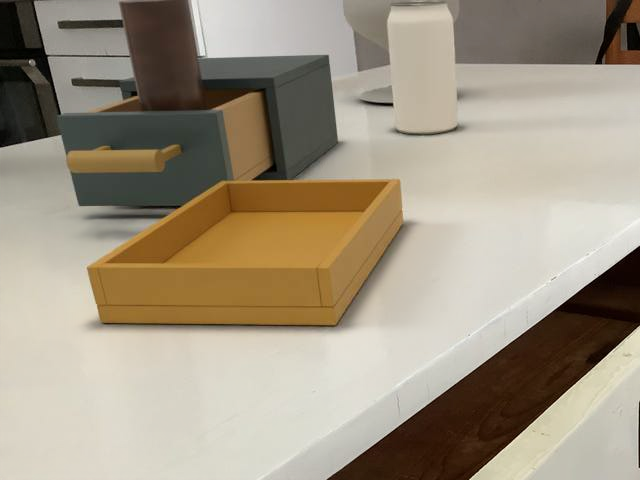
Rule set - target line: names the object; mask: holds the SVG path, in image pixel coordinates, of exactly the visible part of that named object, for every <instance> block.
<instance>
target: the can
mask: <svg viewBox="0 0 640 480" xmlns="http://www.w3.org/2000/svg"><path fill="white" fill-rule="evenodd" d="M447 3H448V1H411V2H398V3H391V4H390V6H391V11H390V14H389V17H388V20H387V28H388V42H389V52H388V55H389V66H390V78H391V80H390V81H391V85H392V93H393V103H392V105H393V114H394V124H395V128H396V129H397V131H398V132H400V133H402V134H407V135H433V134H434V135H436V134H442V133H448V132H450V131H453V130H455V129H456V127H457V126H458V124H459V115H458V114H459V111H458V108H459V107H458V89H457V68H456V50H455V49H456V47H455V31H454V30H455V29H454V24H453V18H452V15H451V13H450V11H449V9H448V7H447Z"/></svg>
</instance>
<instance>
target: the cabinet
mask: <svg viewBox="0 0 640 480" xmlns="http://www.w3.org/2000/svg"><path fill="white" fill-rule="evenodd" d="M329 55H330V54H308V55H307V54H305V55H302V54H301V55H270V56H269V55H267V56H265V55H263V56H234V57H233V56H231V57H229V56H228V57H200V58H199V57H198V59H199V65H200V71H201V77H202V83H203V88H204V90H216V89H259V88H266V89H265V90H266V97H267V104H268V111H269V118H270V125H271V132H272V139H273V146H274V153H275V160H276V163H275V164H274V165H272V166H271V167H269V168H268V169H267V170H265V171H264V172H262V173H261V174H259V175H258V176H256V177H255V178H254V179H252V180H251V181H260V180H293V178H295V177H296V176H297V175H298V174H300V173H301V172H303V171H304V170H305V169H307V168H308V167H309V166H310V165H311V164H313V163H314V162H315V161H317V160H318V159H319V158H321V156H323V155H324V154H325V153H327V152H328V151H330V149H332V148H333V147H335V146H336V145H337V144H339V135H338V127H337V119H336V118H337V117H336V109H335V101H334V91H333V81H332V72H331V64H330V63H331V62H330V56H329ZM118 83H119V89H120V92H121V98H122V101H123V100H126V99H129V98H132V97H135V96H138V94H137V89H136V84H135V79H134V76H133V77H128V78H125V79H122V80H119V81H118Z"/></svg>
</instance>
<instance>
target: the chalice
mask: <svg viewBox="0 0 640 480" xmlns="http://www.w3.org/2000/svg"><path fill="white" fill-rule="evenodd" d="M411 1H448V3H447V7H448V9H449V11H450V13H451V15H452V18H453V25H454V24H455V22H456V21H457V19H458V17H459V13H460V7H461V5H460V0H342V9H343V16H344V18H345V20H346V23H347V24H348V25H349V27H350V28H351V29H352V30H353V31H355V32H356V33H357V34H358V35H361V36H362V37H363V38H366V39H367V40H369V41H371V42H373V43H374V44H376V45H378V46H379V47H380V48H382V49H384V50H385V51H386V52H388V53H389V42H388V28H387V20H388V17H389V14H390V11H391V6H390V4H391V3H398V2H411ZM358 99H360V100H362V101H365V102H369V103H377V104H378V103H379V104H393V93H392V84H390V85H388V86H385V87H379V88H374V89H371V90H368V91H365V92H363V93H361V94H360V95H359V97H358Z"/></svg>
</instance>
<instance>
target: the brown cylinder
mask: <svg viewBox="0 0 640 480" xmlns="http://www.w3.org/2000/svg"><path fill="white" fill-rule="evenodd" d="M118 6H119V10H120V16H121V20H122V25H123V26H122V27H123V30H124V35H125V40H126V44H127V49H128V55H129V60H130V64H131V70H132V73H133V77H134V79H135V84H136V89H137V94H138V98H139V103H140V108H141V112H142V111H191V110H207V106H206V100H205V94H204V88H203V83H202V77H201V71H200V65H199V55H198V47H197V43H196V42H197V41H196V37H195V30H194V25H193V19H192V13H191V8H190V3H189V0H120V1H118Z"/></svg>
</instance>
